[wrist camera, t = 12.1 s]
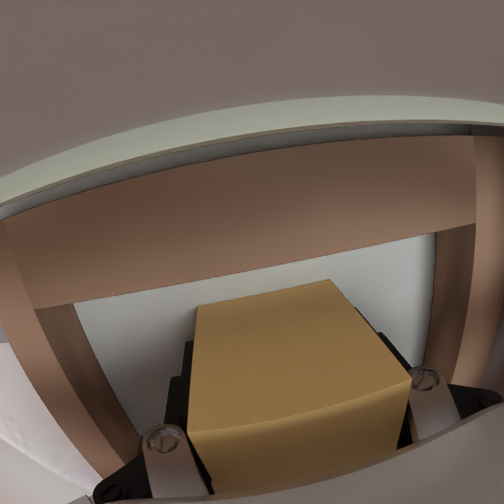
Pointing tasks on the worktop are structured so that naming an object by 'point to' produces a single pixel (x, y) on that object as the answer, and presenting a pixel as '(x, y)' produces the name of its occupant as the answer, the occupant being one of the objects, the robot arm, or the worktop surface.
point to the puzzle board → (254, 254)
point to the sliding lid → (229, 75)
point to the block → (291, 388)
